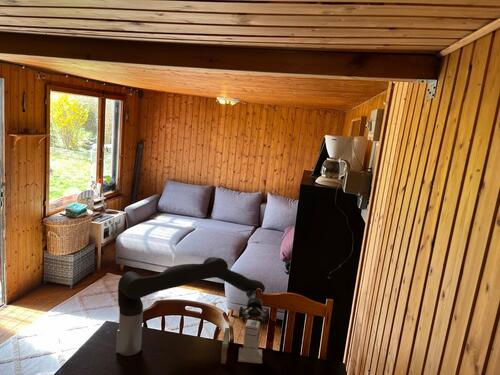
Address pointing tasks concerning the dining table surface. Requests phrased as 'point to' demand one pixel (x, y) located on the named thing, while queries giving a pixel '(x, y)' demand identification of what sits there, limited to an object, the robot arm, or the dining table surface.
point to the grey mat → (242, 359)
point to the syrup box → (251, 339)
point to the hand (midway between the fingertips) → (253, 321)
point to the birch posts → (224, 353)
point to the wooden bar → (226, 337)
